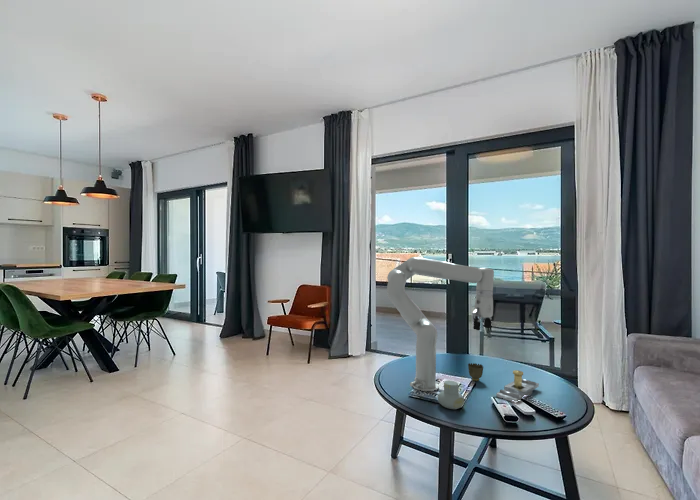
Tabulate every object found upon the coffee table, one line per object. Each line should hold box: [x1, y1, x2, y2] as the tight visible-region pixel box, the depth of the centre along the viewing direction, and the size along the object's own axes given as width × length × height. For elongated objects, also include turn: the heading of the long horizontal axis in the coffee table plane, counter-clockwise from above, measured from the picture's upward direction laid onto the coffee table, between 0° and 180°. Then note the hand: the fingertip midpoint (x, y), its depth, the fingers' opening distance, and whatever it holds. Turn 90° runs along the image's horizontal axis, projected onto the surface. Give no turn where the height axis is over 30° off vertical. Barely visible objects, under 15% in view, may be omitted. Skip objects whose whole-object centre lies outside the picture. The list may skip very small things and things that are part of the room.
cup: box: [467, 362, 484, 382], centre depth 179 cm, size 8×7×8 cm
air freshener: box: [437, 380, 465, 410], centre depth 149 cm, size 11×8×10 cm
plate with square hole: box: [495, 378, 540, 402], centre depth 164 cm, size 24×9×4 cm, turn 131°
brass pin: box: [512, 369, 524, 389], centre depth 163 cm, size 4×4×10 cm
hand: (482, 328), depth 170 cm, fingers open, 9 cm apart
